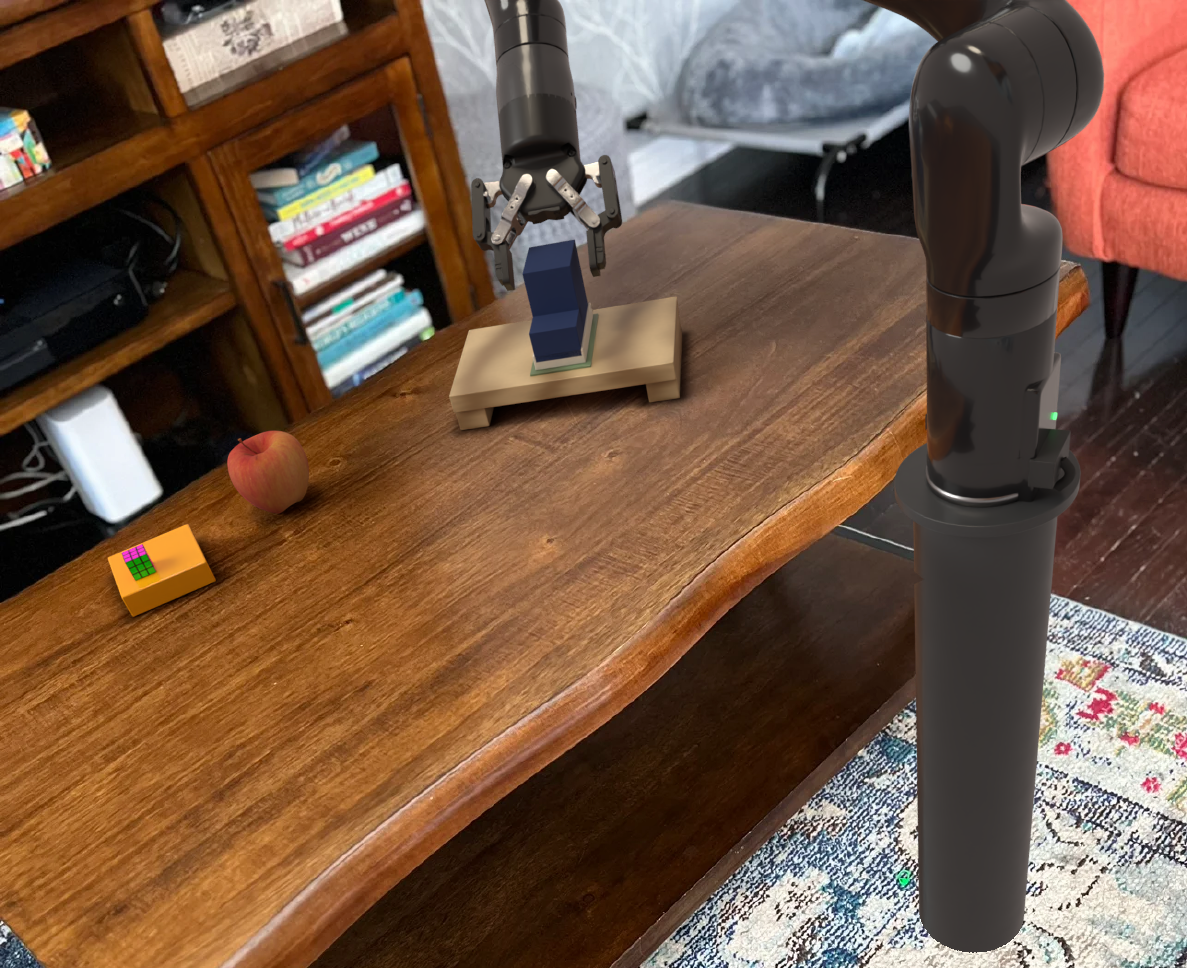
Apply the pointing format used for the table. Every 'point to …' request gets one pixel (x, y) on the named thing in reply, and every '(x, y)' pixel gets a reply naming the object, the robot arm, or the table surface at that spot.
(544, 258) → the trainer
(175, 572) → the orange rectangular box
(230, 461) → the apple
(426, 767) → the table surface
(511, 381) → the shoe shelf
